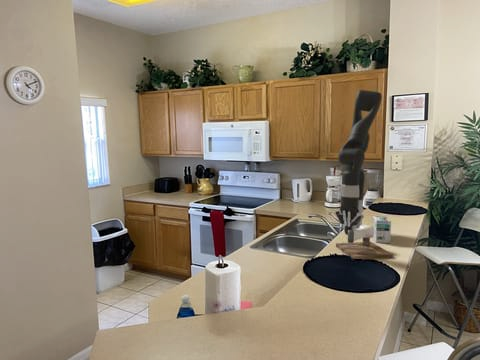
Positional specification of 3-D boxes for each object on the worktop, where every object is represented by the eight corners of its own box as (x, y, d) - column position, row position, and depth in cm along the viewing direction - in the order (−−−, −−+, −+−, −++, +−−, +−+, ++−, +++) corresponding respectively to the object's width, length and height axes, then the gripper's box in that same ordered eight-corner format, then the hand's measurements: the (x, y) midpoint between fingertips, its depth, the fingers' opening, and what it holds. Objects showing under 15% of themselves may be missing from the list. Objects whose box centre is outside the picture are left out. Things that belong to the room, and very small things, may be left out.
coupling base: (335, 246, 159) (336, 234, 158) (370, 244, 161) (371, 233, 160) (353, 259, 141) (354, 246, 140) (392, 257, 143) (393, 244, 143)
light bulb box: (390, 243, 163) (391, 221, 162) (375, 242, 165) (376, 220, 163) (385, 237, 174) (386, 216, 172) (371, 236, 175) (372, 215, 174)
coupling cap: (363, 234, 159) (364, 223, 158) (376, 236, 154) (376, 225, 154) (342, 241, 148) (342, 229, 148) (355, 244, 144) (355, 232, 143)
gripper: (331, 194, 151) (330, 232, 153) (358, 198, 141) (357, 239, 143) (341, 192, 156) (340, 230, 158) (368, 196, 146) (366, 236, 148)
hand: (348, 234), depth 151 cm, fingers closed
